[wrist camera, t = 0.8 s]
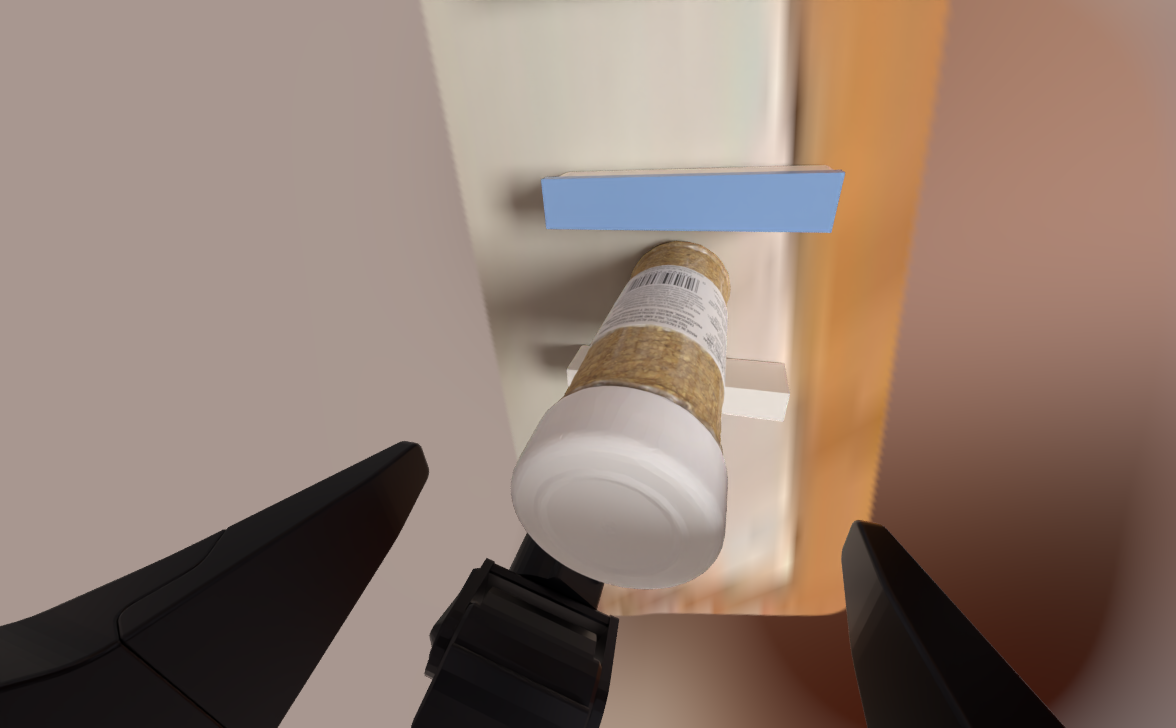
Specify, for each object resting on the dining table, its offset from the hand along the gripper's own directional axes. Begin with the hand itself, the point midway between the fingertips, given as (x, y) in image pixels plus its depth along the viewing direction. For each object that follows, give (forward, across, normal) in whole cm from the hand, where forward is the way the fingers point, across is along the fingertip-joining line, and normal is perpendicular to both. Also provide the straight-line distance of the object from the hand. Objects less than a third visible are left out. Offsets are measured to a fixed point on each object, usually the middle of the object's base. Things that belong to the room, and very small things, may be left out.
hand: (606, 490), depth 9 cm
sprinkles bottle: (+13, 0, 0) cm, 13 cm away
